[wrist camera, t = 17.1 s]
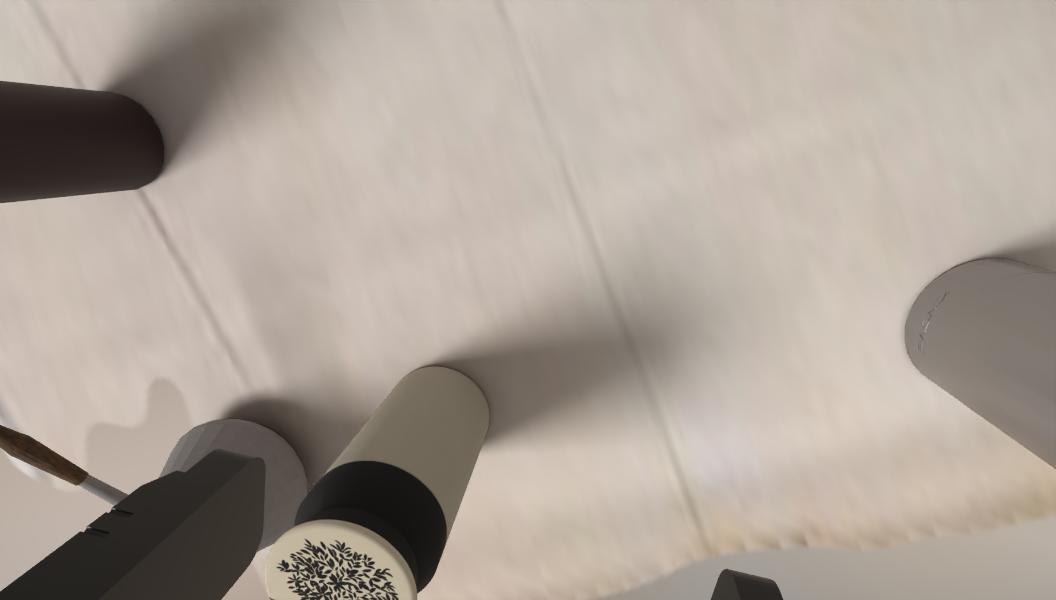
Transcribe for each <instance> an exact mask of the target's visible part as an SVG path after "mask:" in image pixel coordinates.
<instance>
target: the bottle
mask: <svg viewBox="0 0 1056 600" xmlns="http://www.w3.org/2000/svg"><path fill="white" fill-rule="evenodd" d="M162 161H163V144H162V140H161V136H160V132H159V130H158V128H157V126H156V124H155V122H154V121H153V119H152V117H151V116H150V115H149V114H148V113H147V112H146V110H145V109H144V108H143V107H142V106H141V105H139V104H138V103H136V102H135V101H133V100H131V99H130V98H128V97H126V96H123V95H119V94H115V93H111V92H102V91H93V90H83V89H73V88H64V87H54V86H45V85H35V84H26V83H16V82H6V81H0V203H7V202H17V201H27V200H36V199H46V198H56V197H66V196H76V195H86V194H95V193H105V192H115V191H125V190H135V189H138V188H140V187H142V186H144V185H146V184H148V183H150V182H151V181H152V180H153V179H154V177H155V176H156V175H157V174H158V172H159V169H160V167H161V164H162Z"/></svg>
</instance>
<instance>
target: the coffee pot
mask: <svg viewBox="0 0 1056 600" xmlns="http://www.w3.org/2000/svg"><path fill="white" fill-rule="evenodd" d="M0 448H2V449H3V450H4V451H6V452H7V453H8V454H9V455H11V456H13V457H15V458H17V459H20V460H22V461H24V462H26V463H28V464H30V465H33V466H35V467H37V468H39V469H41V470H44V471H46V472H48V473H50V474H52V475H54V476H57V477H59V478H61V479H63V480H65V481H68V482H70V483H72V484H74V485H76V486H77V485H79V486H81V487H83V488H84V489H86V490H88V491H90V492H91V493H93V494H95V495H97V496H98V497H100V498H102V499H104V500H106V501H107V502H109V503H111V504H113V505H114V506H115V505H116V504H118V503H119V502H120V501H122V500H123V499H124V498H126V497H127V496H128V495H127V494H126V493H123V492H121V491H120V490H118V489H116V488H114V487H112V486H110V485H108V484H106V483H104V482H102V481H100V480H98V479H96V478H94V477H92V476H90V475H88V473H87V472H86V471H84V470H83V469H81V468H79V467H78V466H76V465H75V464H73V463H72V462H70V461H68V460H67V459H65V458H64V457H62V456H60V455H59V454H57V453H56V452H54V451H52V450H51V449H49V448H48V447H46V446H44V445H43V444H41V443H40V442H38V441H36V440H35V439H33V438H32V437H30V436H28V435H25V434H22V433H19V432H17V431H14V430H12V429H9V428H6V427H4V426H1V425H0ZM219 448H222V449H226V450H231V451H235V452H239V453H243V454H248V455H252V456H256V457H260V458H262V459H263V460H264V462H265V466H266V476H265V501H264V527H263V534H262V539H261V542H260V545H259V547H258V550H257V552H258V551H260V550H262V549H264V548H266V547H268V546H270V545H272V544H274V543H275V542H276V541H277V540H278V539H279V538H280V537H281V536H282V535H283V534H284V533H286V532H287V531H288V530H290V529H292V528H293V527H294V523H295V517H296V514H297V511H298V508H299V506H300V505H301V503H302V501H303V500H304V499H305V497H306V496H307V489H308V482H307V478H306V474H305V470H304V467H303V465H302V463H301V461H300V460H299V458H298V456H297V454H296V452H295V451H294V450H293V448H292V447H291V446H290V445H289V444H288V443H287V441H286V440H285V439H283V438H282V437H281V436H279V435H278V434H277V433H275V432H274V431H272V430H270V429H268V428H266V427H264V426H261V425H259V424H257V423H255V422H251V421H246V420H241V419H225V420H215V421H210V422H207V423H205V424H202V425H199V426H196V427H194V428H193V429H191V430H190V431H189V432H188V433H186V434H185V435H184V436H182V437H181V438H180V440H179V441H178V443H177V445H176V446H175V448H174V449H173V451H172V452H171V454H170V457H169V458H168V460H167V462H166V465H165V467H164V468H163V471H162V472H161V475H160V477H163V476H165V475H167V474H170V473H172V472H174V471H176V470H177V471H181V472H186V471H188V470H189V469H190V468H191V467H193V466H194V465H195V464H196V463H198V462H199V461H200V460H201V459H203V458H204V457H205V456H206V455H208V454H209V453H210V452H212V451H213V450H215V449H219ZM160 477H159V478H160Z"/></svg>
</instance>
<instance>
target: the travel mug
mask: <svg viewBox="0 0 1056 600" xmlns="http://www.w3.org/2000/svg"><path fill="white" fill-rule="evenodd" d="M489 422H490V413H489V407H488V404H487V401H486V399H485V397H484V395H483V393H482V392H481V390H480V389H479V387H478V386H477V385H476V384H475V383H474V382H473V381H472V380H471V379H469V378H468V377H467V376H465V375H463V374H462V373H460V372H458V371H455V370H452V369H449V368H445V367H425V368H420V369H417V370H415V371H413V372H411V373H409V374H408V375H406V376H405V377H404V378H403V379H402V380H401V381H400V382H399V383H398V384H397V385H396V387H395V388H394V389H393V390H392V392H391V393H390V394H389V395H388V396H387V398H386V399H385V400H384V401H383V403H382V404H381V405H380V406H379V408H378V409H377V410H376V411H375V412H374V414H373V415H372V416H371V417H370V419H369V420H368V421H367V422H366V424H365V425H364V426H363V427H362V428H361V430H360V431H359V432H358V433H357V435H356V436H355V437H354V438H353V439H352V441H351V442H350V443H349V444H348V446H347V447H346V448H345V449H344V451H343V452H342V453H341V454H340V455H339V457H338V458H337V459H336V460H335V462H334V463H333V464H332V465H331V467H330V468H329V469H328V470H327V471H326V473H325V474H324V475H323V476H322V478H321V479H320V480H319V481H318V483H317V484H316V485H315V486H314V487H313V489H312V490H311V491H310V492H309V494H308V495H307V496H306V497H305V499H304V500H303V501H302V503H301V505H300V506H299V508H298V511H297V514H296V517H295V523H294V527H293V528H292V529H290V530H288V531H287V532H286V533H284V534H283V535H282V536H281V537H280V538H279V539H278V540H277V541H276V542H275V544H274V545H273V547H272V548H271V550H270V552H269V554H268V557H267V560H266V565H265V584H266V589H267V592H268V595H269V598H270V600H417V593H419V592H420V591H421V590H422V589H424V588H425V587H426V586H427V584H428V583H429V582H430V581H431V579H432V578H433V576H434V574H435V572H436V569H437V567H438V564H439V561H440V558H441V556H442V553H443V550H444V548H445V545H446V542H447V539H448V537H449V534H450V531H451V529H452V526H453V523H454V520H455V518H456V515H457V512H458V510H459V507H460V504H461V502H462V499H463V496H464V493H465V491H466V488H467V485H468V483H469V480H470V477H471V474H472V472H473V469H474V466H475V464H476V461H477V458H478V455H479V453H480V450H481V447H482V445H483V442H484V439H485V436H486V434H487V431H488V428H489Z"/></svg>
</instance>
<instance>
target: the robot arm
mask: <svg viewBox="0 0 1056 600" xmlns="http://www.w3.org/2000/svg"><path fill="white" fill-rule="evenodd" d="M905 344H906V348H907V353H908V355H909V357H910V359H911V361H912V363H913V364H914V365H915V367H916V368H917V369H918V370H919V371H920V372H921V374H923V375H924V376H926V377H927V378H928V379H930V380H931V381H933V382H934V383H935V384H937V385H938V386H940V387H941V388H942V389H944V390H945V391H947V392H948V393H949V394H951V395H952V396H953V397H955V398H956V399H958V400H959V401H960V402H962V403H963V404H964V405H966V406H967V407H968V408H970V409H971V410H973V411H974V412H975V413H977V414H978V415H980V416H981V417H983V418H984V419H985V420H987V421H988V422H990V423H991V424H992V425H994V426H995V427H997V428H998V429H1000V430H1001V431H1002V432H1004V433H1005V434H1007V435H1008V436H1009V437H1011V438H1012V439H1014V440H1015V441H1017V442H1018V443H1019V444H1021V445H1022V446H1024V447H1025V448H1026V449H1028V450H1029V451H1031V452H1032V453H1034V454H1035V455H1036V456H1038V457H1039V458H1041V459H1042V460H1043V461H1045V462H1046V463H1048V464H1049V465H1051V466H1052V467H1053V468H1055V469H1056V272H1053V271H1050V270H1046V269H1042V268H1039V267H1035V266H1032V265H1028V264H1025V263H1021V262H1017V261H1012V260H1007V259H982V260H977V261H971V262H968V263H965V264H962V265H960V266H957V267H954V268H952V269H951V270H949V271H947V272H946V273H944V274H942V275H940V276H939V277H938V278H936V279H935V280H934V281H933V282H932V283H930V284H929V285H928V286H927V287H926V288H925V289H924V290H923V292H922V293H921V294H920V295H919V297H918V298H917V299H916V301H915V303H914V304H913V306H912V308H911V310H910V312H909V315H908V318H907V322H906V325H905ZM265 476H266V466H265V462H264V460H263V459H262V458H260V457H256V456H252V455H248V454H243V453H239V452H235V451H231V450H226V449H222V448H219V449H215V450H213V451H212V452H210V453H209V454H208V455H206V456H205V457H204V458H203V459H201V460H200V461H199V462H198V463H196V464H195V465H194V466H193V467H191V468H190V469H189V470H188V471H186V472H181V471H177V470H176V471H174V472H172V473H170V474H167V475H165V476H163V477H160V478H158V479H156V480H154V481H151V482H149V483H147V484H144V485H142V486H140V487H139V488H138V489H136V490H135V491H134V492H132V493H131V494H130V495H128V496H127V497H126V498H124V499H123V500H122V501H120V502H119V503H118V504H116V505H115V506H114V507H112V509H111V512H110V513H107V512H106V513H104V514H103V515H102V516H100V517H99V518H98V519H96V520H95V521H94V522H92V523H91V524H90V525H88V526H87V529H86V530H85V531H84V532H79V533H78V534H76V535H75V536H74V537H72V538H71V539H70V540H68V541H67V542H66V543H64V544H63V545H62V546H60V547H59V548H58V549H56V550H55V551H54V552H52V553H51V554H50V555H49V556H47V557H46V558H44V559H43V560H42V561H40V562H39V563H38V564H36V565H35V566H34V567H32V568H31V569H30V570H28V571H27V572H26V573H24V574H23V575H22V576H20V577H19V578H18V579H16V580H15V581H14V582H12V583H11V584H10V585H8V586H7V587H6V588H4V589H3V590H2V591H0V600H221V599H222V598H223V597H224V596H225V594H226V593H227V592H228V591H229V589H230V588H231V587H232V586H233V585H234V583H235V582H236V581H237V580H238V579H239V577H240V576H241V575H242V574H243V572H244V571H245V570H246V569H247V567H248V566H249V565H250V563H251V562H252V560H253V558H254V556H255V554H256V552H257V550H258V547H259V545H260V542H261V539H262V534H263V527H264V501H265ZM711 600H783V598H782V595H781V593H780V590H779V588H778V586H777V584H776V583H775V582H774V581H773V580H771V579H767V578H763V577H759V576H755V575H750V574H746V573H742V572H737V571H733V570H729V569H725V570H723V571H722V572H721V574H720V576H719V578H718V581H717V584H716V587H715V589H714V592H713V595H712V598H711Z"/></svg>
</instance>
